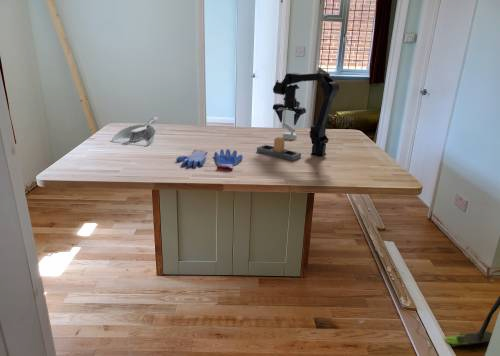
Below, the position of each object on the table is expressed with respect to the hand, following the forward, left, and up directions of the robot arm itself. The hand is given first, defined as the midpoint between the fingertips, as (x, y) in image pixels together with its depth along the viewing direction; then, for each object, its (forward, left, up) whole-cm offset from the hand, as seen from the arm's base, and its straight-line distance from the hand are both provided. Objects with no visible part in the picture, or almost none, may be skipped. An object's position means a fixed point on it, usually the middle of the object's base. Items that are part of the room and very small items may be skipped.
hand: (287, 123), depth 223 cm
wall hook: (+8, -16, -13) cm, 22 cm away
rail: (-6, +18, -13) cm, 23 cm away
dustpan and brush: (+71, +45, -14) cm, 86 cm away
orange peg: (-6, +18, -13) cm, 23 cm away
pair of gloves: (+14, +51, -14) cm, 55 cm away
